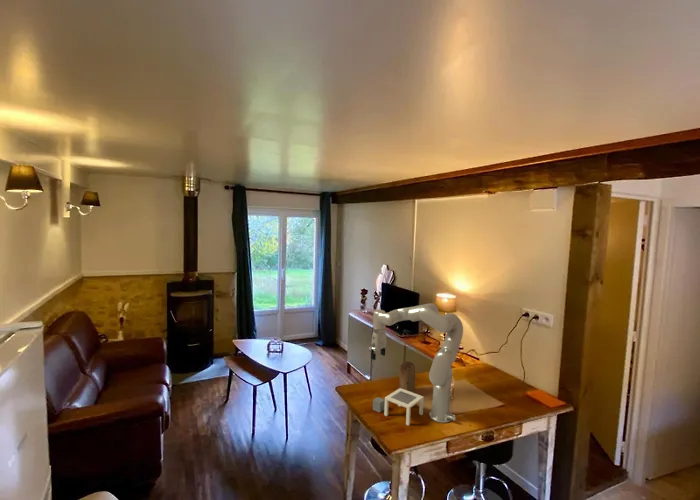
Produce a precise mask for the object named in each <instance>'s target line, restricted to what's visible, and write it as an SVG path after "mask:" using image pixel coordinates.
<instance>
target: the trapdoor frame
mask: <svg viewBox="0 0 700 500" xmlns="http://www.w3.org/2000/svg"><path fill="white" fill-rule="evenodd" d="M400 392H404V393H407V394H409V395H412V396H415V397H417V398H416V399H414V400H413V401H412V402H410V403H409V404H406V403H404V402H401V401H398V400H396V399H393V398H392V397H394V396H395V395H397V394H398V393H400ZM384 400H385V406H384V410H383V413H384V415H383V416H385V417H387V416H389V403H393V404H395V405H397V406H398V407H403V408H406V410H405V411H406V414H405V417H406V418H405V425H406V426H410V425H411V410H412V409H411V408H412V407H414V406H415V405H417V404H418V403H419V409H418V410H419V411H418V415H420V416H422V415H423V414H424V400H425V399H424V395H423V396H422V395H420V394H418V393H415V392H414V393H412V392H409V391H407V390H404V389H401V388H399V387H398V388H397V389H396V390H395V391H392V392H391V393H389V394H388V395H386V396H385V397H384Z"/></svg>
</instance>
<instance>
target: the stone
mask: <svg viewBox="0 0 700 500" xmlns="http://www.w3.org/2000/svg"><path fill="white" fill-rule="evenodd" d="M384 406H385V398H382V397H379V396H377V397H375V398H374V399H372V410H373V411H375V412H378V413H381V412H384Z"/></svg>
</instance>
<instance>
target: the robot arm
mask: <svg viewBox="0 0 700 500" xmlns="http://www.w3.org/2000/svg"><path fill="white" fill-rule="evenodd" d="M372 315H373V318H372V335H371V342H370V343H371V345H369V347H368V349H369V352H370V359H371V360H373V361H375V360H376V358H377V357H376V355H377V354H376V352H377V351H380V355H382V356H383V357H385V356H386V349H387V345H388V342H389V341H388V340H387V332H386V326H393V325H394V324H395V325H396V323H398V322H403V321H411V322H417V321H418V322H419V321H422V322H423V323H425V324H426V325H428V326H430V327H432V328H433V329H434V330H436V331H437V332H440V333H442V334H446V335H445V338H444V341H443V343H442V345H441V348H440V349H439V350H438V351H437V352H436V354H435V355H434V357H433V360H432V364H431V367H430V369H429V373H428V379H429V381H430V383H431V384H432V385H433V387H432V405H431V406H432V407H431V411H429V413H428V415H429V418H430V420H432V421H434V422H437V423H441V424H442V423H443V424H444V423H445V424H446V423H450V422H451V421H453V422H455V421H456V420H457V417H456V414H452V410H450V409H451V407H450V406H451V391H452V388H451V387H452V380H453V379H452V378H453V369H452V365H453V364H454V362H455V361H456V359H457V356H458V353H459V348H460V346H461V342H462V340H463V336H464V326H463V323H462V321H461V319H460V317H458V315H456V314H455V313H452V312H451V313H450V312H449V313H448V312H447V313H446V314H443V315H441V314H440V313H439V308H438V306H437V305H436V304H435V303H433V302H432V303H431V302H430V303H426V304H419V305H415V306H409V307H402V308H398V309H397V308H396V309H393V310H390V311H389V312H386V311H385V310H383V309H375V310H374V311H373V314H372Z"/></svg>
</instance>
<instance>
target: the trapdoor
mask: <svg viewBox="0 0 700 500" xmlns="http://www.w3.org/2000/svg"><path fill="white" fill-rule="evenodd" d="M392 398H393V399H396V400H398V401H401V402H404V403H406V404H409V403H410V402H412V401H413V400H414V399H416V398H417V397H415V396H412V395H409V394H407V393H404V392H400V393H398V394H397V395H395V396H394V397H392Z"/></svg>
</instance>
